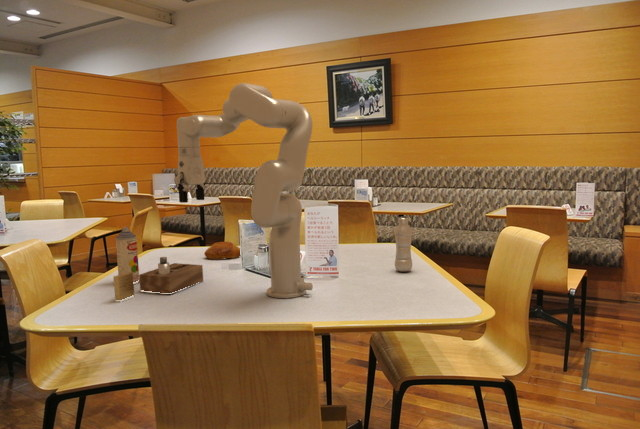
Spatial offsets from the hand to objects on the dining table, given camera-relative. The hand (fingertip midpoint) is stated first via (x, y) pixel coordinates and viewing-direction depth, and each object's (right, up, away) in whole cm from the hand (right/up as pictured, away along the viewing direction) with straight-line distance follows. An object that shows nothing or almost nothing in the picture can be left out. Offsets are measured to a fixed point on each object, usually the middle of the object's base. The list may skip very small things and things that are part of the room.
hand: (192, 201), depth 177 cm
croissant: (+3, -24, +42) cm, 49 cm away
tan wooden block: (-16, -31, -21) cm, 41 cm away
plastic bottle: (+76, -26, +6) cm, 81 cm away
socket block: (-5, -30, -7) cm, 31 cm away
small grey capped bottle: (-6, -30, -11) cm, 33 cm away
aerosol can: (-22, -29, 0) cm, 37 cm away
